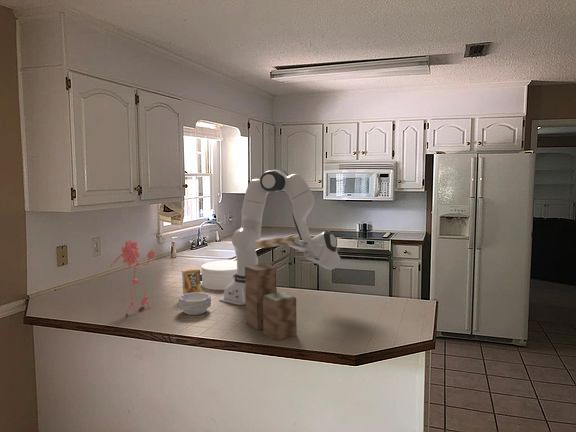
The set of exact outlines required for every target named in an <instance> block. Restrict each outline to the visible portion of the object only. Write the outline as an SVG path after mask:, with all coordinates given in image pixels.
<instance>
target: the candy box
mask: <svg viewBox="0 0 576 432" xmlns="http://www.w3.org/2000/svg"><path fill="white" fill-rule="evenodd" d="M181 274H182V276H181V278H182V280H181V281H182V295H183V294H187V293H202V288H201V287H202V283H201V282H202V279H201V269H199V268H193V269H184V270H182V271H181Z"/></svg>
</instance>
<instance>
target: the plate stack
mask: <svg viewBox="0 0 576 432" xmlns="http://www.w3.org/2000/svg"><path fill="white" fill-rule="evenodd" d="M200 268H201V282H202V283H201V287H203V288H205V289H206V290H207V289H208V290H213V291H217V290H218V291H224V290H225V288H226V287H227V286H228V285H229V284H231V283H232V282H233V281H234V279H235V277H234V275H235V274H237V259H235V260H232V259H226V260H225V259H224V260H215V261H214V260H213V261H209V262H206V263H203V264H201V266H200ZM233 277H234V278H233Z"/></svg>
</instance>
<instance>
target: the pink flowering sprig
mask: <svg viewBox="0 0 576 432" xmlns="http://www.w3.org/2000/svg"><path fill="white" fill-rule="evenodd" d="M137 245H138V241H136V240H135V241H133V240H132V239H129V240H125V244H124V246H121V253H120V255H118V257H117V258H115V260H114V261H113V262H112V264H111V265H110V266H111V267H112V266H114V264H116V262H117V261H118V260H119V259H120V258H121V257H122V258H123V260H122V261H123V264H127V266H128V267H129V269H132V268H133V279H132V281H131V282H132V284H131V290H130V291H131V293H130V294H131V297H130V298H131V302H130V305H129V306H128V307H129V308H128V309H127V311H126V313H128V312H129V311H130V309H131V307H132V306H133V309H134V312H135V313H136V315H139V314H138V313H139V312H138V311H137V309H136V307H135V304H134V300H133V288H134V287H133V286H134V285H136V284H138V283H139V284H142V285H146V283H145V282H141V281H139V280H138V279H137V278H135V277H136V268H137V267H138V266H140V265H141V266H148V264H149V262H150V261H151V259H153V258H154V256H155V254H156V252H155V251H154V250H152V249H151V250H150V251H149V252H147V259H148V260H147V263H139V260H138V259H139V258H140V252H139V247H138V246H137ZM143 296H144V297H142V299H141V300H140V305H141V306H142V307H143V306H145V304H147V306H148V309H151V307H150V304H149V302H148V299H149V298H148V296H147V295H146V291H144V295H143ZM156 305H158V306H159V305H160V304H159V303H158V304H156Z"/></svg>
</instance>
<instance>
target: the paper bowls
mask: <svg viewBox="0 0 576 432" xmlns="http://www.w3.org/2000/svg"><path fill="white" fill-rule="evenodd" d="M211 304H212V296H211V295H210V294H209V293H206V292H201V293H187V294H183V293H182V294H181V295H180V296H178V307H179V309H180V310H183V313H184V314H186V315H191V316H197V315H203V314H204V313H206V312H207V310H208V309H209V308H211V306H212V305H211Z"/></svg>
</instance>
